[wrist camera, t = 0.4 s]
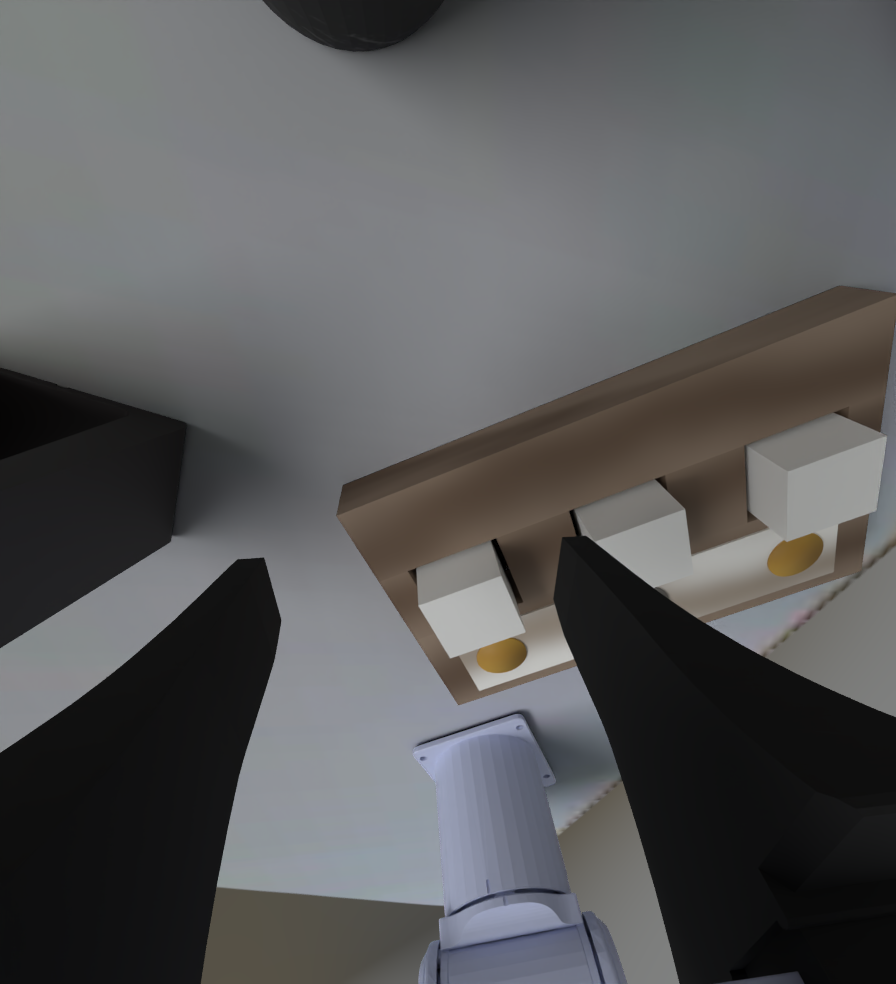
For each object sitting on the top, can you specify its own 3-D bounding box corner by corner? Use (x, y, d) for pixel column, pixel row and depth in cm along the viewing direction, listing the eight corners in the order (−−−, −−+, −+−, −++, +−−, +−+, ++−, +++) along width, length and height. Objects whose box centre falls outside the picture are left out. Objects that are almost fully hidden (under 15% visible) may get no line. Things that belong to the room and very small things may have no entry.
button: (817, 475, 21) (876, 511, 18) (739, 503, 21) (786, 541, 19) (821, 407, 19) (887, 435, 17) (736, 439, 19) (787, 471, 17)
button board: (821, 541, 25) (864, 573, 23) (453, 667, 27) (458, 708, 25) (839, 285, 18) (904, 294, 16) (343, 485, 20) (335, 518, 18)
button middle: (658, 532, 22) (693, 574, 19) (586, 558, 22) (611, 602, 20) (647, 472, 20) (685, 508, 17) (569, 501, 20) (594, 541, 18)
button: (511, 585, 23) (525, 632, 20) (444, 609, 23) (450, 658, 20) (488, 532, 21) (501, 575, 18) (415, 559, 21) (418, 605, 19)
